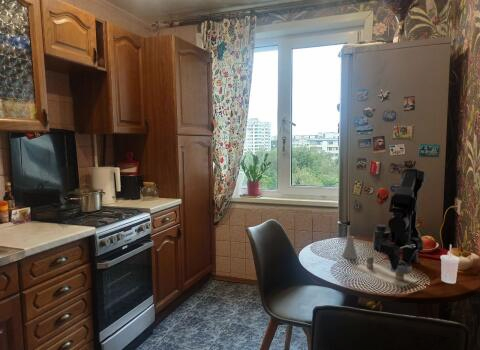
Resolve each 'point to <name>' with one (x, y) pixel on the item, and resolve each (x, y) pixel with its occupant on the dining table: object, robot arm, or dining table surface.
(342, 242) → the dining table surface
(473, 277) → the dining table surface
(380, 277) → the base board
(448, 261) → the beverage cup
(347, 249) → the flask
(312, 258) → the dining table surface
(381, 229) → the supplement bottle
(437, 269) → the dining table surface
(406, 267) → the steel ring
